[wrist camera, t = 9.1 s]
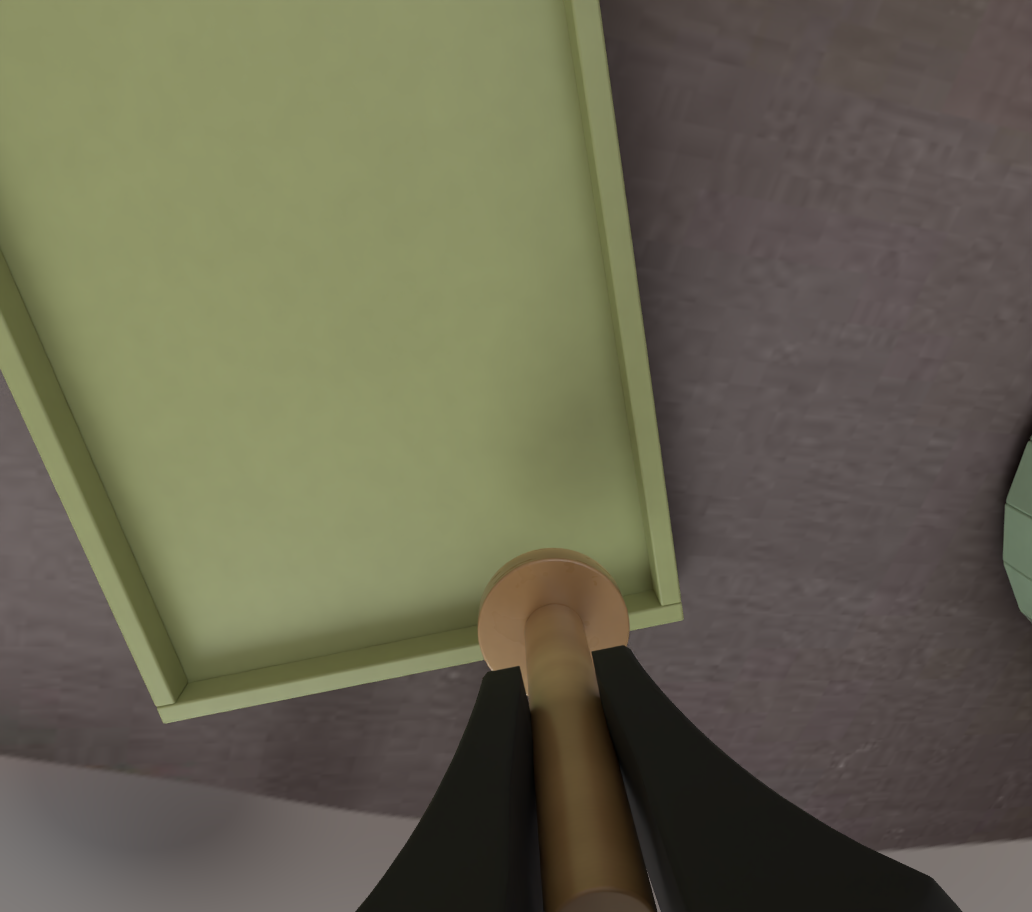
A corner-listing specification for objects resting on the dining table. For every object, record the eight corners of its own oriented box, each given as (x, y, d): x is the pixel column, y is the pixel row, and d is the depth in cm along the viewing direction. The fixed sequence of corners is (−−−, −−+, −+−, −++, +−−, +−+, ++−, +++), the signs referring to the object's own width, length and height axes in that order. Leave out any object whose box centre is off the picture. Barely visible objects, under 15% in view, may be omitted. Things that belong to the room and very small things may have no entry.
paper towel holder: (632, 672, 17) (764, 1038, 9) (490, 692, 18) (478, 1077, 9) (615, 537, 17) (741, 786, 8) (467, 558, 17) (429, 831, 8)
